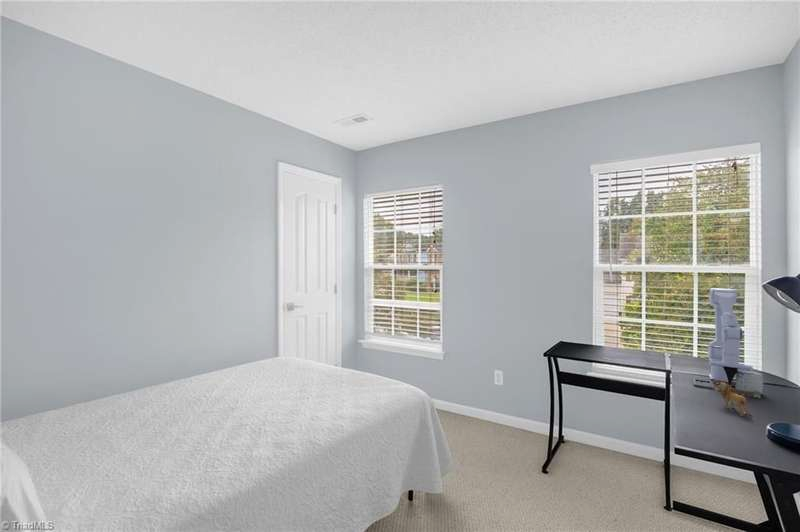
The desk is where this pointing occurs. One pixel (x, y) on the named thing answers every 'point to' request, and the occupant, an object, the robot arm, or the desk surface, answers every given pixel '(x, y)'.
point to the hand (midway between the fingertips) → (729, 384)
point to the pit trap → (702, 382)
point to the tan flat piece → (754, 394)
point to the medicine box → (749, 381)
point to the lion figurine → (732, 398)
